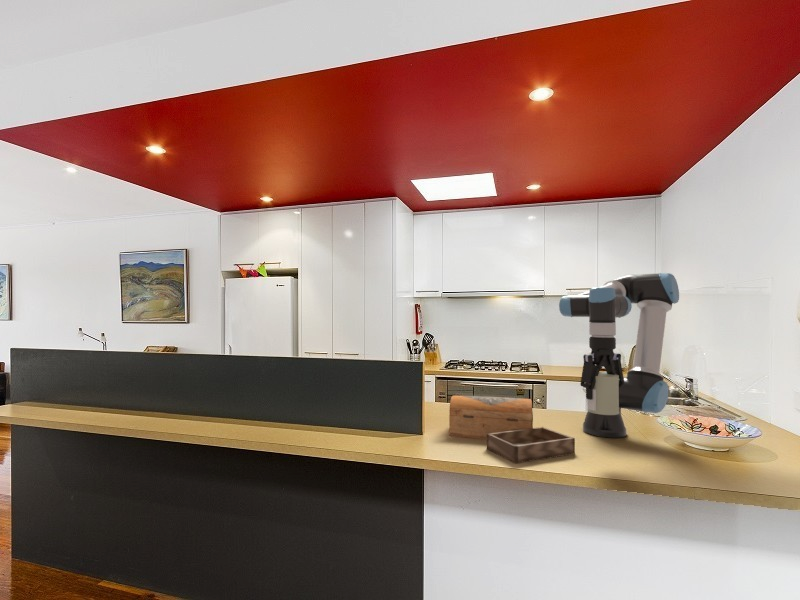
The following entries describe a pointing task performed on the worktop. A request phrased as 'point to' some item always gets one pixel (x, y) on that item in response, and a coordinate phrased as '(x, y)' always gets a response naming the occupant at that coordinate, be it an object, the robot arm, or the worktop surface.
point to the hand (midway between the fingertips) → (602, 408)
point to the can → (606, 394)
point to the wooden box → (488, 415)
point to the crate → (530, 444)
